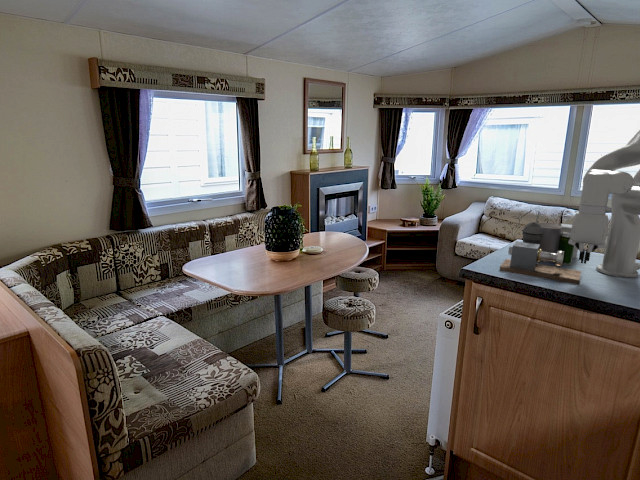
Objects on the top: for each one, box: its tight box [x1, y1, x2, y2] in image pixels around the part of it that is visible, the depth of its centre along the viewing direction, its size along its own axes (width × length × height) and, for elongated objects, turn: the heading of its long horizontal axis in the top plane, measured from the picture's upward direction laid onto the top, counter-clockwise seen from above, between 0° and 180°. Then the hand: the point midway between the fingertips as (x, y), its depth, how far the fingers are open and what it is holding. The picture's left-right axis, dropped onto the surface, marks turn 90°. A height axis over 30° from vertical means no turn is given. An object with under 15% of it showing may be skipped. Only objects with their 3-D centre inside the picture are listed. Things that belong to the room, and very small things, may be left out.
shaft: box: [507, 246, 564, 267], centre depth 149 cm, size 18×5×5 cm, turn 57°
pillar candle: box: [537, 221, 562, 262], centre depth 166 cm, size 10×10×15 cm
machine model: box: [499, 240, 582, 286], centre depth 148 cm, size 25×12×10 cm, turn 57°
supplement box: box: [559, 223, 579, 259], centre depth 172 cm, size 7×7×13 cm
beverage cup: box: [522, 211, 543, 244], centre depth 161 cm, size 7×7×20 cm
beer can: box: [558, 232, 574, 266], centre depth 161 cm, size 5×5×12 cm
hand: (583, 262), depth 142 cm, fingers closed
